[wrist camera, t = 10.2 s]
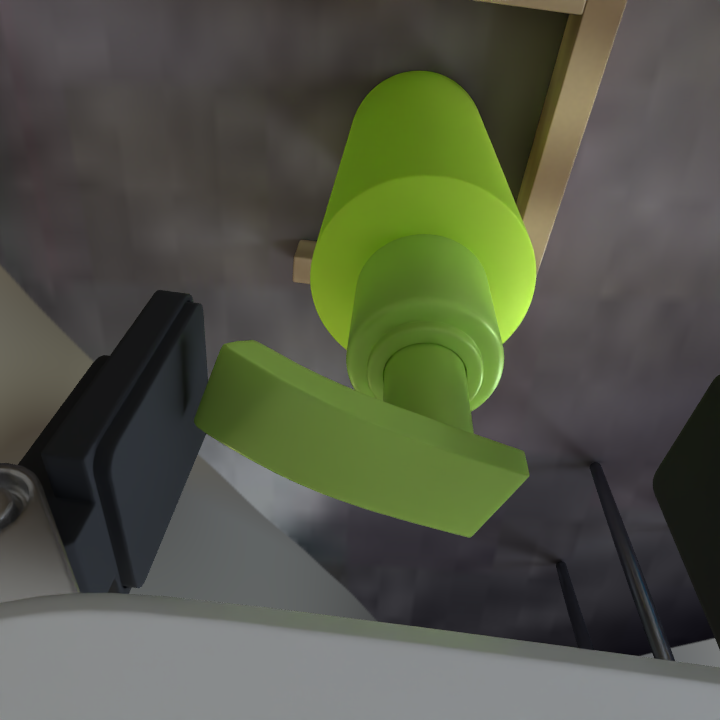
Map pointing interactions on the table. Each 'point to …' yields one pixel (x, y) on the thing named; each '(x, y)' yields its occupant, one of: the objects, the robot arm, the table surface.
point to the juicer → (631, 572)
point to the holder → (549, 116)
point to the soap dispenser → (397, 322)
